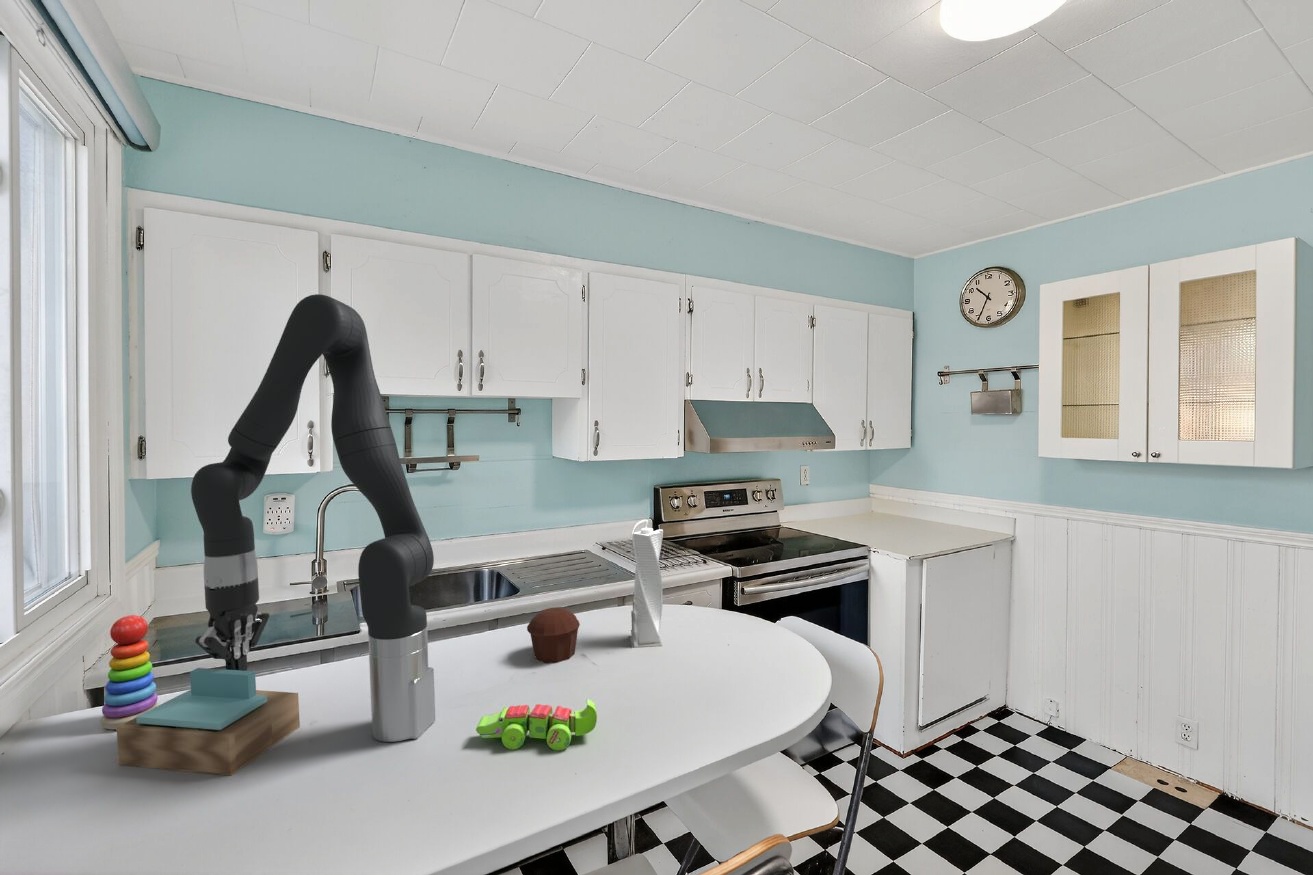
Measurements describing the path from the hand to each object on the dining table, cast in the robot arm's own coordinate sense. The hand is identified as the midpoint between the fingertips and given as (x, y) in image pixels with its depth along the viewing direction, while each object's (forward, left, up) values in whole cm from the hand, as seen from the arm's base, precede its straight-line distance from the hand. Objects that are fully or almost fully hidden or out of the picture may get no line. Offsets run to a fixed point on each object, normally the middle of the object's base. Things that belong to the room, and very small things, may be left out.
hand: (237, 677), depth 104 cm
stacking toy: (+22, 0, -9) cm, 24 cm away
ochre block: (0, +8, -9) cm, 11 cm away
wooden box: (0, +5, -9) cm, 10 cm away
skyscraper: (-63, -48, -10) cm, 80 cm away
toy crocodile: (-52, -4, -9) cm, 53 cm away
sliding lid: (0, +7, -3) cm, 7 cm away
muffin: (-44, -37, -9) cm, 58 cm away
